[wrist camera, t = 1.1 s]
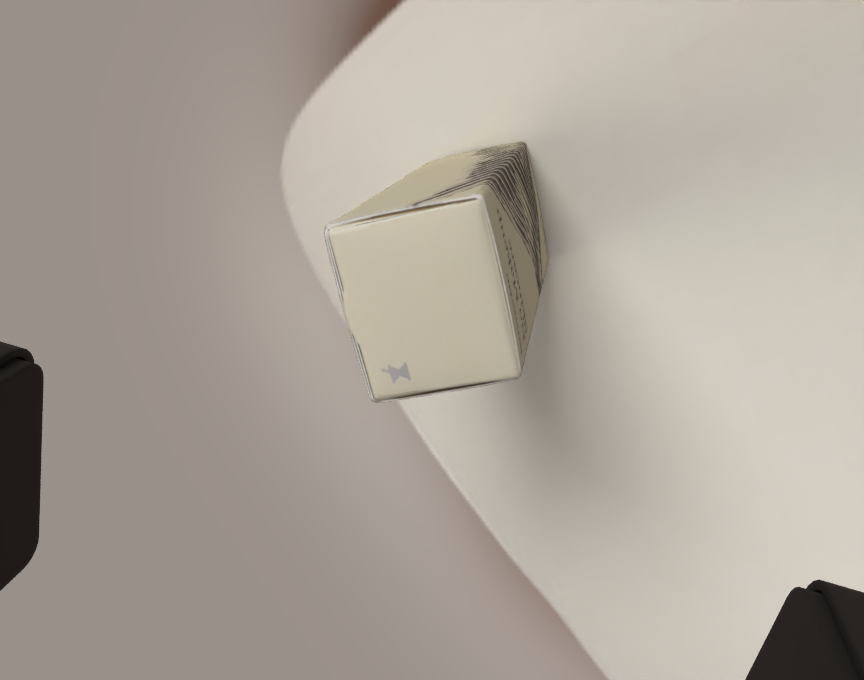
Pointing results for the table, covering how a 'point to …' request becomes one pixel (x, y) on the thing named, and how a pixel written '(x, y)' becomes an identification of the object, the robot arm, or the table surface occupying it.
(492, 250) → the box
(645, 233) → the table surface
